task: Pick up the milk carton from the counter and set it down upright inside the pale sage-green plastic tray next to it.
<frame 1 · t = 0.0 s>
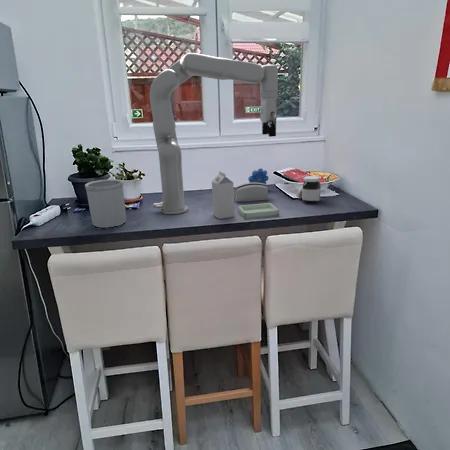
hand: (268, 135, 177), 31 cm above the table, tool pointing down, fingers open, 9 cm apart
milk carton: (223, 216, 168), on the table
tray: (258, 213, 170), on the table
grey piece: (251, 200, 191), on the table
spread jar: (307, 201, 186), on the table
utensil holder: (109, 223, 165), on the table
grapes: (257, 191, 208), on the table
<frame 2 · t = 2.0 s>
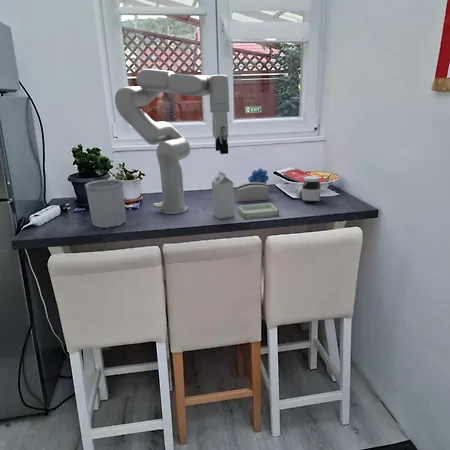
hand: (221, 152, 159), 27 cm above the table, tool pointing down, fingers open, 9 cm apart
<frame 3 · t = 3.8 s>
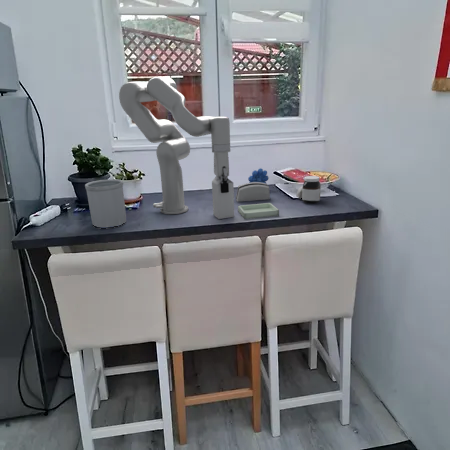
hand: (222, 190, 165), 12 cm above the table, tool pointing down, fingers closed on milk carton, 7 cm apart
milk carton: (223, 216, 168), on the table, touching gripper
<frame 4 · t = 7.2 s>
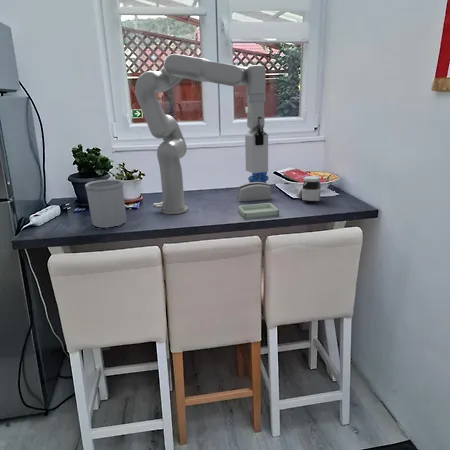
hand: (256, 143, 160), 30 cm above the table, tool pointing down, fingers closed on milk carton, 7 cm apart
milk carton: (256, 171, 164), point 18 cm above the table, touching gripper
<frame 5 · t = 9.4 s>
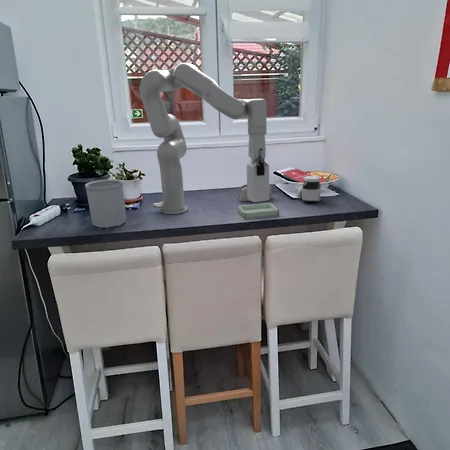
hand: (257, 173, 164), 18 cm above the table, tool pointing down, fingers closed on milk carton, 7 cm apart
milk carton: (258, 200, 168), point 6 cm above the table, touching gripper
when the fingers open (13 cm above the table, at t = 11.0 s): milk carton drops 1 cm, resting on tray.
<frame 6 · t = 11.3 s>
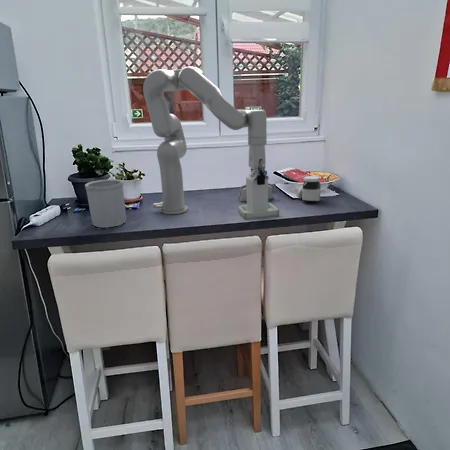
hand: (257, 182, 166), 14 cm above the table, tool pointing down, fingers open, 9 cm apart
milk carton: (257, 212, 170), resting on tray
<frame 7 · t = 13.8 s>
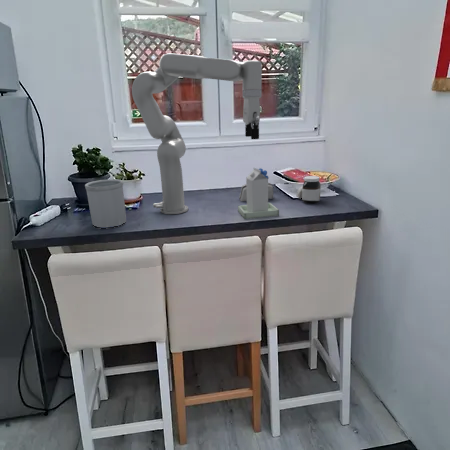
hand: (252, 137, 162), 32 cm above the table, tool pointing down, fingers open, 9 cm apart
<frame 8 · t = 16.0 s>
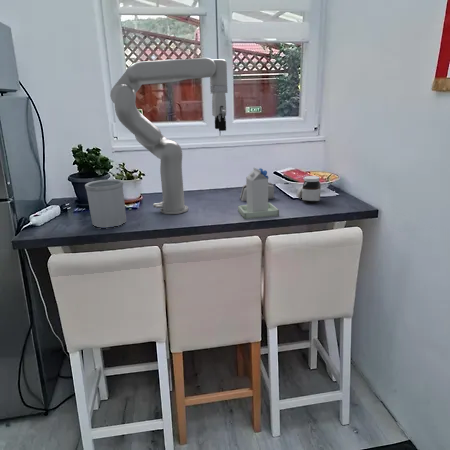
hand: (220, 129, 177), 34 cm above the table, tool pointing down, fingers open, 9 cm apart
at the end: milk carton inside the target area on the tray (0.3 cm from its centre), point 0.4 cm above the tray's base; milk carton tilted 0°; the gripper is holding nothing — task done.
